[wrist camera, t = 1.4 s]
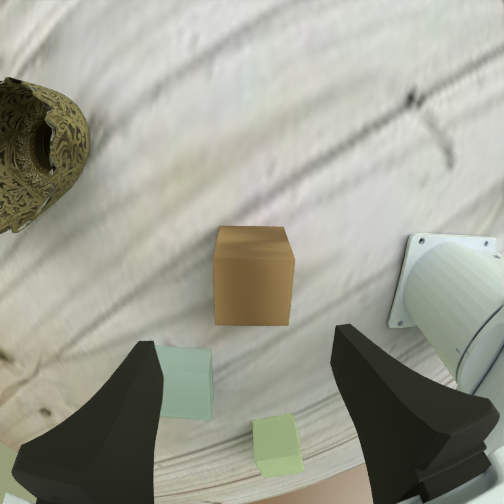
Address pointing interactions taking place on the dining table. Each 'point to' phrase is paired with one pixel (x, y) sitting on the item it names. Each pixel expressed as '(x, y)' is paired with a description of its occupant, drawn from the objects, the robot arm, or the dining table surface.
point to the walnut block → (252, 276)
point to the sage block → (277, 446)
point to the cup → (37, 150)
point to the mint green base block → (186, 382)
